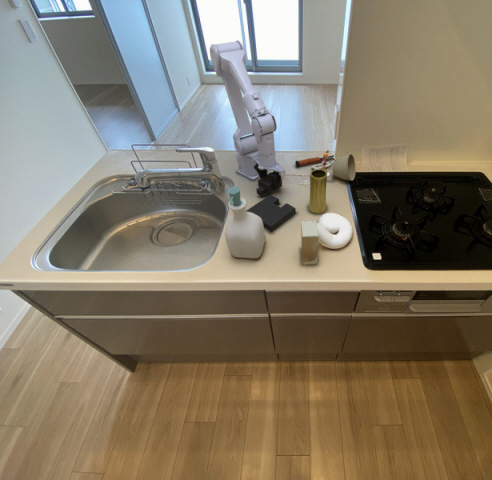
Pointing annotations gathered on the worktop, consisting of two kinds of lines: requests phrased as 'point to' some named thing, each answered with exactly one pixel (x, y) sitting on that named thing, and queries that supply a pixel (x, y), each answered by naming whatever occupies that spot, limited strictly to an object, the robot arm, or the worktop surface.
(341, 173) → the cup
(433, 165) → the worktop surface
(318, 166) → the soap
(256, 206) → the base pad
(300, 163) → the knife
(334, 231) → the sculpture
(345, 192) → the worktop surface
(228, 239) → the soap bottle
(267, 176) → the black block with stub
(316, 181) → the vase
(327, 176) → the action figure
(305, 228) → the cosmetic box
